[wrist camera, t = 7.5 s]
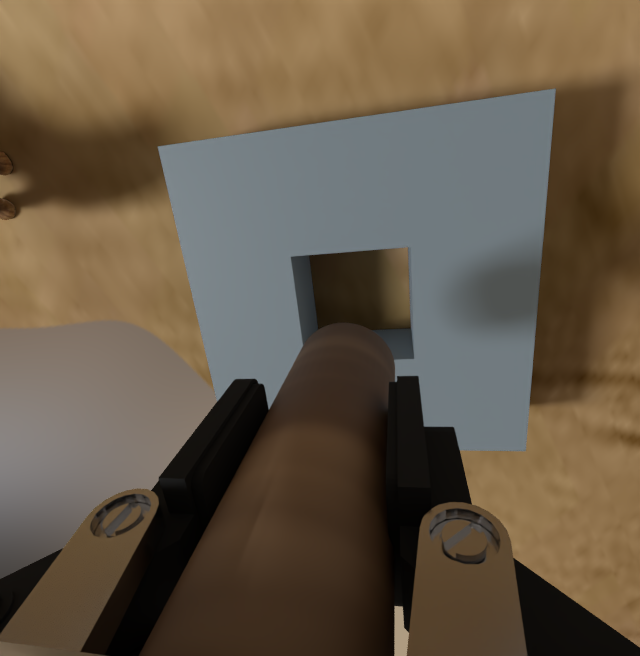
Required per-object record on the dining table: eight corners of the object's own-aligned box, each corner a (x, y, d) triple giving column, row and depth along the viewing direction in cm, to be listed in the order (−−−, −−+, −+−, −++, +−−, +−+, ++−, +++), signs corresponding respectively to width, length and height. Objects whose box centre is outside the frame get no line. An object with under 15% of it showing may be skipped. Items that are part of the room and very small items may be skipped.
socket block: (197, 149, 21) (157, 146, 18) (523, 104, 18) (555, 88, 15) (250, 408, 27) (227, 446, 23) (505, 407, 24) (525, 451, 20)
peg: (292, 324, 14) (-99, 909, 3) (392, 320, 13) (378, 1061, 2) (304, 410, 15) (57, 1057, 4) (397, 410, 14) (402, 1187, 3)
